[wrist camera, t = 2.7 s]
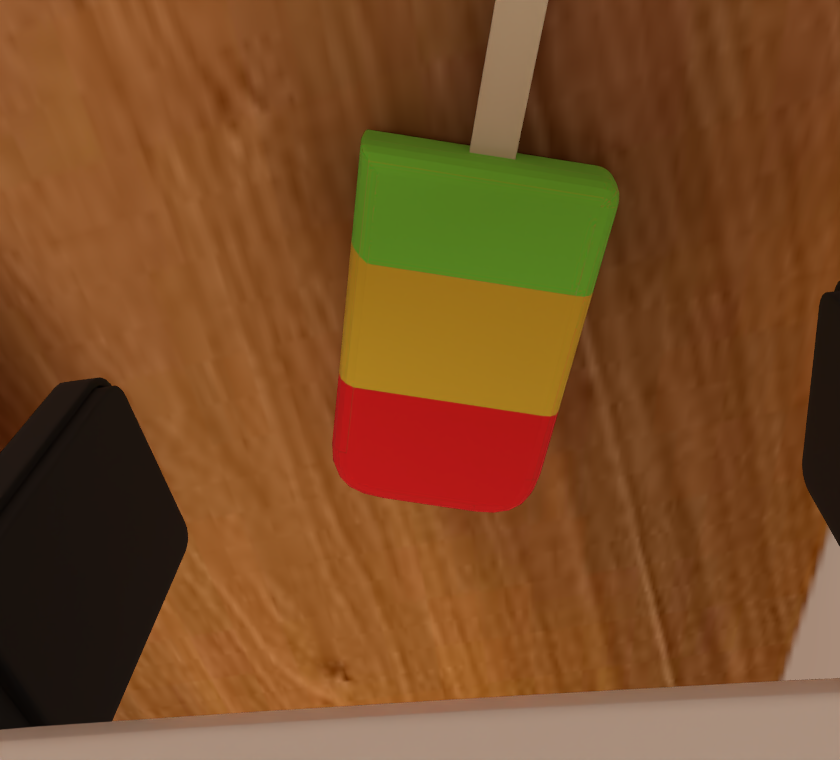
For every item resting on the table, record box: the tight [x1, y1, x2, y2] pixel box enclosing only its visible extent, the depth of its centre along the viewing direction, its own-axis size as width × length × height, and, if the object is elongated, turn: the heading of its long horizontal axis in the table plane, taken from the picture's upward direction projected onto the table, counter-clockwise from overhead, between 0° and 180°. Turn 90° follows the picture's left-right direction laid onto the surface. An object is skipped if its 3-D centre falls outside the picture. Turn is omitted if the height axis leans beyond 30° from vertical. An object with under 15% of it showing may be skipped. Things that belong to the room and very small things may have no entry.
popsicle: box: [332, 0, 619, 512], centre depth 17 cm, size 6×15×2 cm, turn 172°
